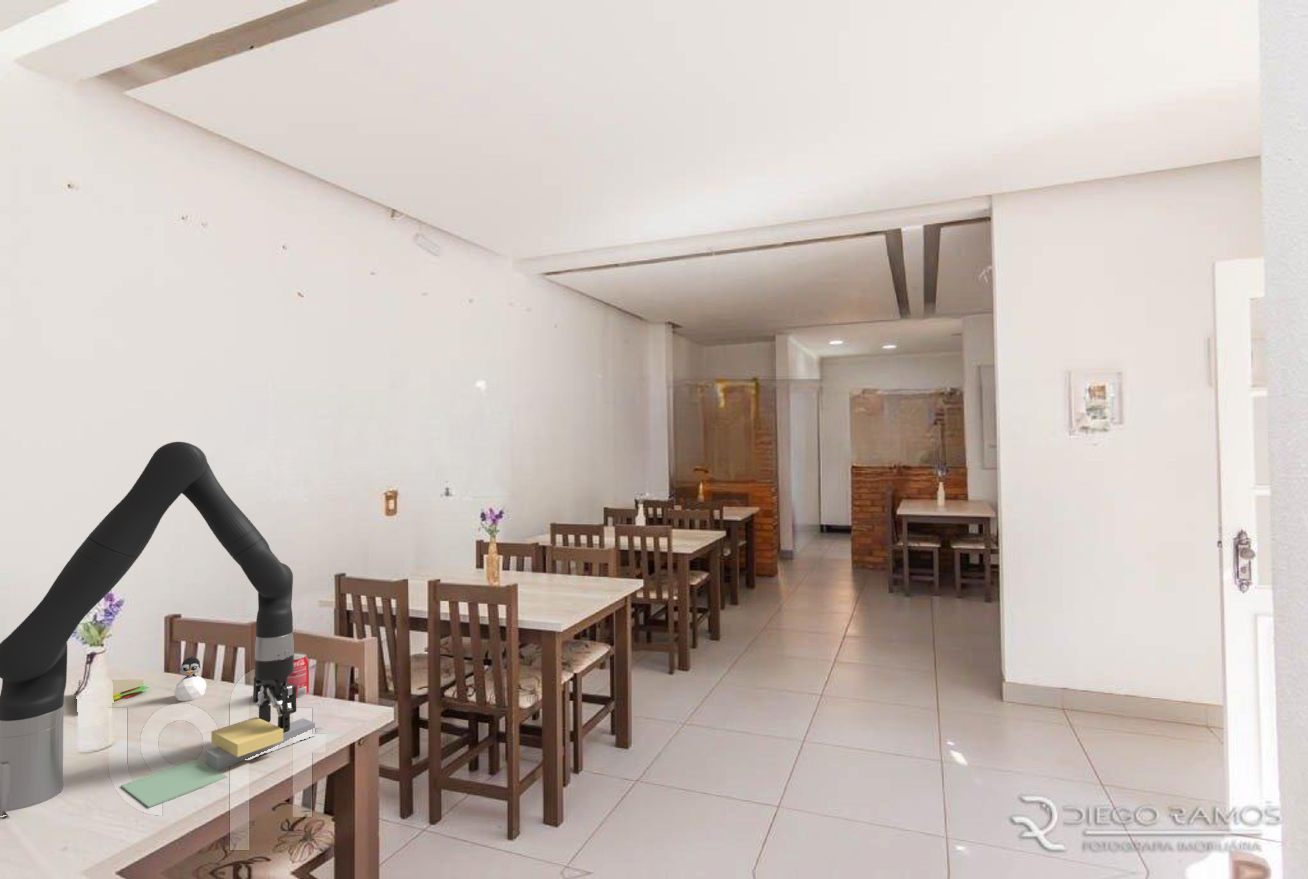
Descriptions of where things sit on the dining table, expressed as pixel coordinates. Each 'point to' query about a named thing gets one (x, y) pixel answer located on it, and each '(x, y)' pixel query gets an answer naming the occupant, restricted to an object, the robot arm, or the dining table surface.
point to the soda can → (300, 675)
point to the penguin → (190, 681)
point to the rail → (224, 759)
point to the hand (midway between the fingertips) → (274, 727)
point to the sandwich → (125, 689)
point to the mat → (172, 782)
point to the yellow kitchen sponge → (247, 736)
